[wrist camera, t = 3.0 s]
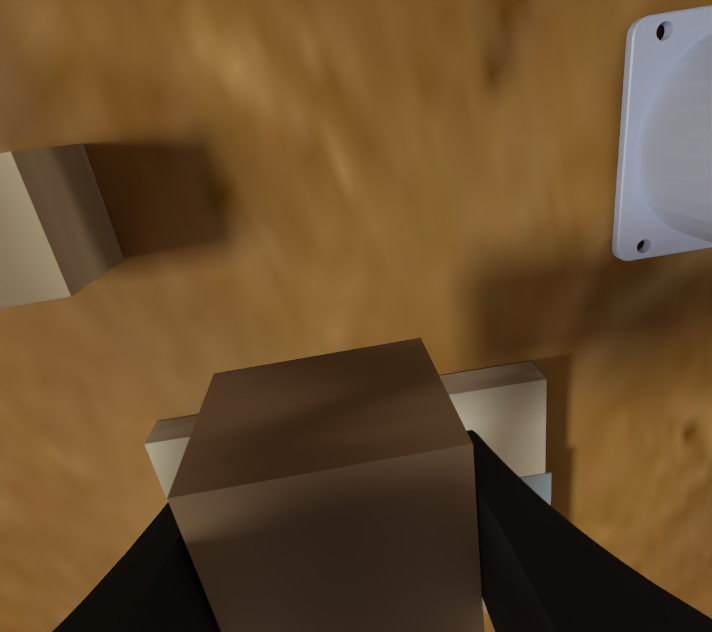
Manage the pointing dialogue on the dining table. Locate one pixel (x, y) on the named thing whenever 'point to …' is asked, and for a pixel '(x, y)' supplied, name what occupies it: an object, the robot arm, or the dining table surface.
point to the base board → (473, 404)
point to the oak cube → (51, 225)
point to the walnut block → (333, 497)
